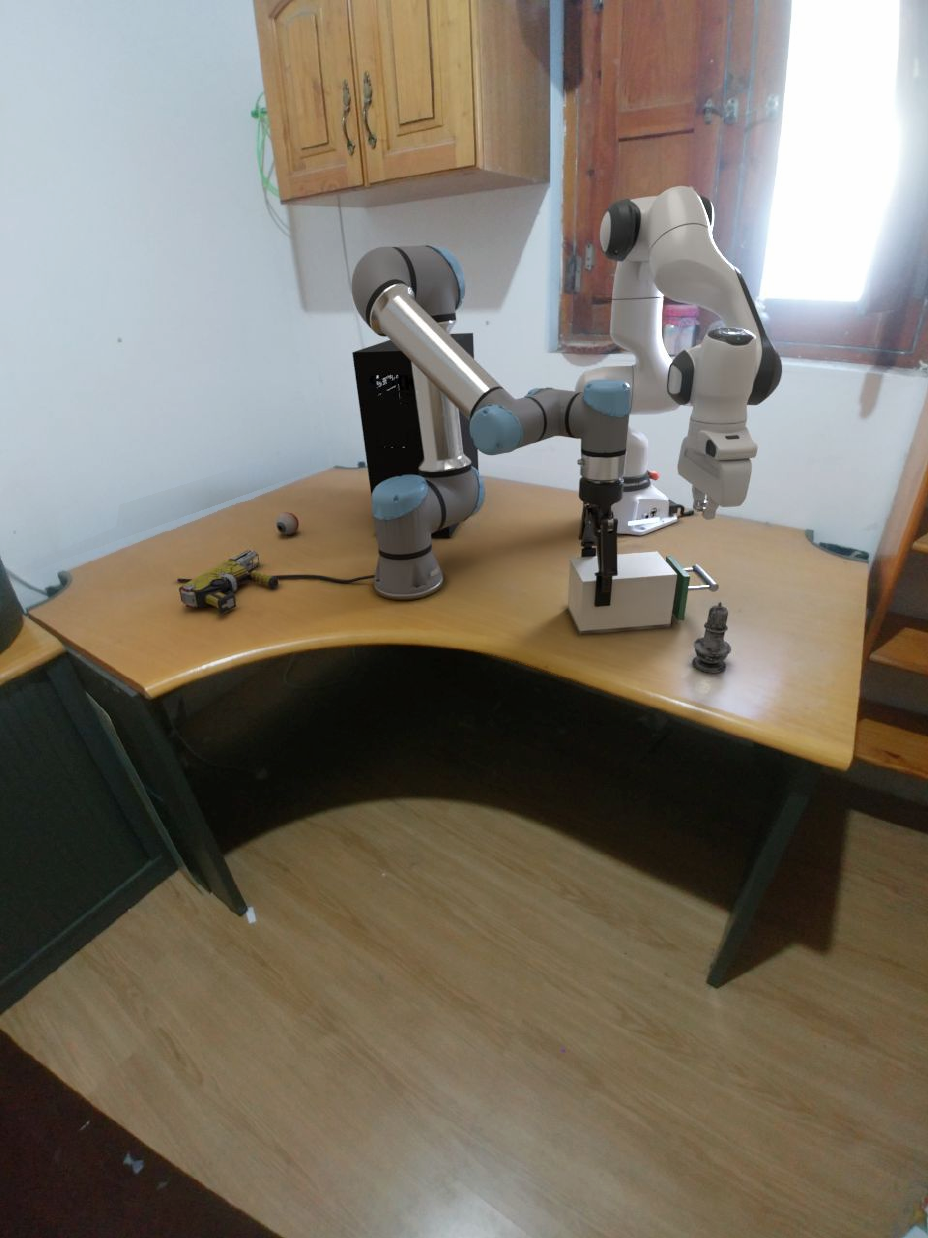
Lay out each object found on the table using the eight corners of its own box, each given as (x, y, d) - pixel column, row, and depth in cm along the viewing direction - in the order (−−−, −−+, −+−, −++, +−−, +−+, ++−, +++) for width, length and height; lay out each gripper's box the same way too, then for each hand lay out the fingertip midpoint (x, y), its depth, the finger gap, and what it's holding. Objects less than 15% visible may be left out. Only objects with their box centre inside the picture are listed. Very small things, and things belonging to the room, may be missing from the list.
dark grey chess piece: (730, 675, 99) (743, 611, 93) (692, 672, 100) (703, 609, 94) (724, 655, 104) (736, 594, 98) (688, 653, 105) (698, 592, 99)
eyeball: (273, 537, 164) (268, 516, 161) (287, 528, 169) (282, 508, 166) (291, 539, 161) (286, 518, 158) (305, 530, 166) (301, 510, 163)
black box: (449, 537, 157) (436, 349, 134) (376, 534, 161) (352, 352, 139) (479, 491, 188) (473, 332, 166) (417, 489, 193) (403, 335, 170)
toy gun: (299, 558, 143) (245, 547, 147) (233, 601, 123) (173, 587, 126) (300, 576, 145) (248, 565, 149) (236, 621, 125) (177, 606, 129)
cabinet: (651, 601, 122) (657, 551, 117) (669, 627, 114) (677, 574, 108) (567, 608, 122) (569, 557, 116) (579, 634, 113) (582, 581, 107)
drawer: (694, 595, 122) (701, 553, 117) (714, 617, 114) (722, 573, 109) (587, 604, 121) (590, 562, 116) (599, 627, 113) (603, 583, 108)
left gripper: (565, 460, 113) (562, 567, 124) (597, 500, 93) (590, 623, 104) (605, 457, 113) (598, 564, 124) (645, 496, 94) (632, 619, 105)
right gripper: (673, 423, 110) (665, 496, 117) (723, 452, 92) (709, 536, 99) (707, 421, 110) (697, 494, 117) (763, 449, 93) (747, 533, 100)
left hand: (594, 591), depth 114 cm, fingers closed on cabinet, 10 cm apart
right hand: (703, 514), depth 108 cm, fingers open, 3 cm apart
